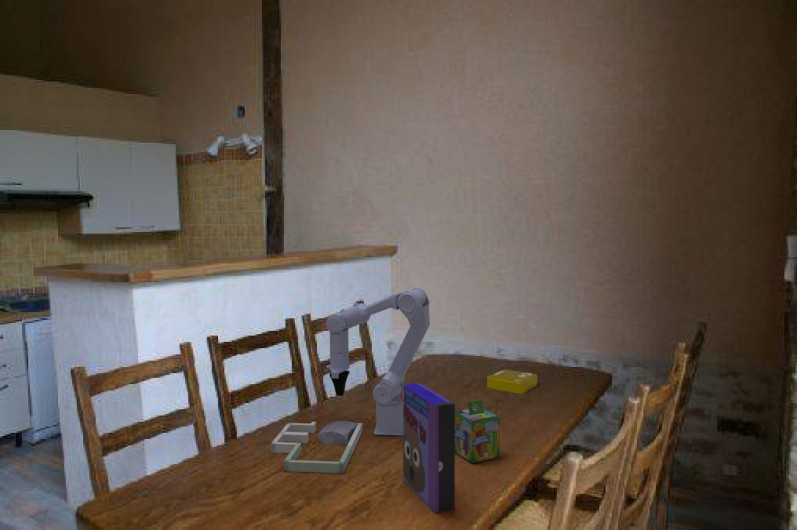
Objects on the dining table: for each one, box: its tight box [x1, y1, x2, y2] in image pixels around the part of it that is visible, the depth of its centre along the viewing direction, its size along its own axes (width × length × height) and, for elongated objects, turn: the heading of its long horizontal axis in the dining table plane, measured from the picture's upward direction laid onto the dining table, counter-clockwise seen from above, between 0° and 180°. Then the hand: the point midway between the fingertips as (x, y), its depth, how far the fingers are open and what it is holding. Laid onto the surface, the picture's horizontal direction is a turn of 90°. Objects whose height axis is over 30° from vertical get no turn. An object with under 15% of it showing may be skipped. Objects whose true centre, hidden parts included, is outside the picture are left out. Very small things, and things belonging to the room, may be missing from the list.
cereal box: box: [402, 383, 456, 514], centre depth 140 cm, size 17×5×24 cm, turn 23°
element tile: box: [486, 369, 538, 394], centre depth 228 cm, size 15×15×5 cm
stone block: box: [317, 420, 359, 446], centre depth 177 cm, size 12×5×10 cm
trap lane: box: [270, 421, 363, 474], centre depth 168 cm, size 22×30×2 cm
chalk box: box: [455, 399, 501, 464], centre depth 163 cm, size 9×9×15 cm
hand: (340, 395), depth 186 cm, fingers closed
